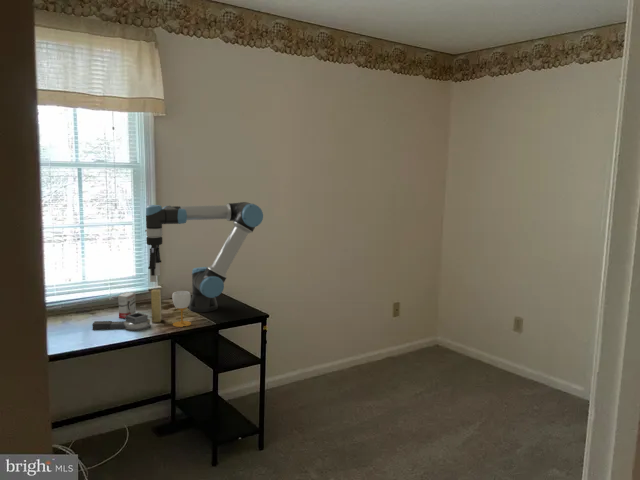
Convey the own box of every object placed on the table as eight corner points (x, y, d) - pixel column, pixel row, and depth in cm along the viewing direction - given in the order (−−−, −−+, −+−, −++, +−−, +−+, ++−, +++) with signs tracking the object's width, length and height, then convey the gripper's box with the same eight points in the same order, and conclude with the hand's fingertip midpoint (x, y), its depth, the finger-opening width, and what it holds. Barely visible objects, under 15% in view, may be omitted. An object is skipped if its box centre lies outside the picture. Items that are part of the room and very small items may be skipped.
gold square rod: (161, 319, 274) (160, 289, 271) (160, 322, 270) (159, 291, 267) (153, 320, 273) (152, 289, 271) (152, 322, 269) (151, 291, 267)
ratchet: (151, 323, 268) (151, 311, 267) (147, 330, 257) (147, 318, 256) (96, 324, 264) (96, 312, 263) (90, 332, 253) (90, 320, 252)
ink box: (127, 318, 274) (126, 296, 272) (118, 318, 275) (117, 295, 273) (136, 314, 283) (135, 292, 281) (127, 313, 283) (127, 291, 282)
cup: (191, 321, 273) (191, 290, 270) (190, 326, 264) (190, 295, 262) (173, 321, 271) (172, 290, 269) (171, 327, 263) (171, 295, 260)
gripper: (150, 232, 276) (151, 273, 280) (142, 240, 252) (143, 284, 255) (165, 232, 277) (166, 272, 281) (158, 240, 253) (159, 284, 256)
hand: (155, 278), depth 268 cm, fingers open, 13 cm apart
